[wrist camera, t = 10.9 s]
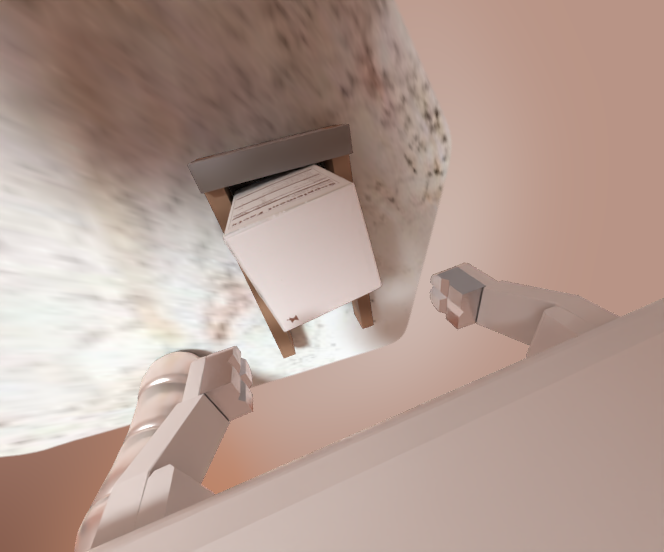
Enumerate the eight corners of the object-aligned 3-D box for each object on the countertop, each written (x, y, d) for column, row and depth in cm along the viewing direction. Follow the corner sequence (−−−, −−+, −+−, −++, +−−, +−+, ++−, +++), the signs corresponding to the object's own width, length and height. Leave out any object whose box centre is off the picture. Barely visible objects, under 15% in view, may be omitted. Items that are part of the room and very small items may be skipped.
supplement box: (332, 227, 27) (385, 290, 16) (268, 255, 26) (282, 337, 16) (307, 156, 23) (358, 179, 12) (231, 187, 22) (217, 239, 12)
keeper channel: (197, 159, 20) (187, 164, 17) (333, 125, 22) (348, 124, 19) (281, 340, 33) (284, 364, 29) (364, 310, 34) (376, 330, 31)
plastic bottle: (219, 350, 31) (185, 609, 14) (198, 386, 32) (145, 651, 16) (160, 337, 27) (28, 652, 11) (141, 378, 29) (2, 698, 13)
